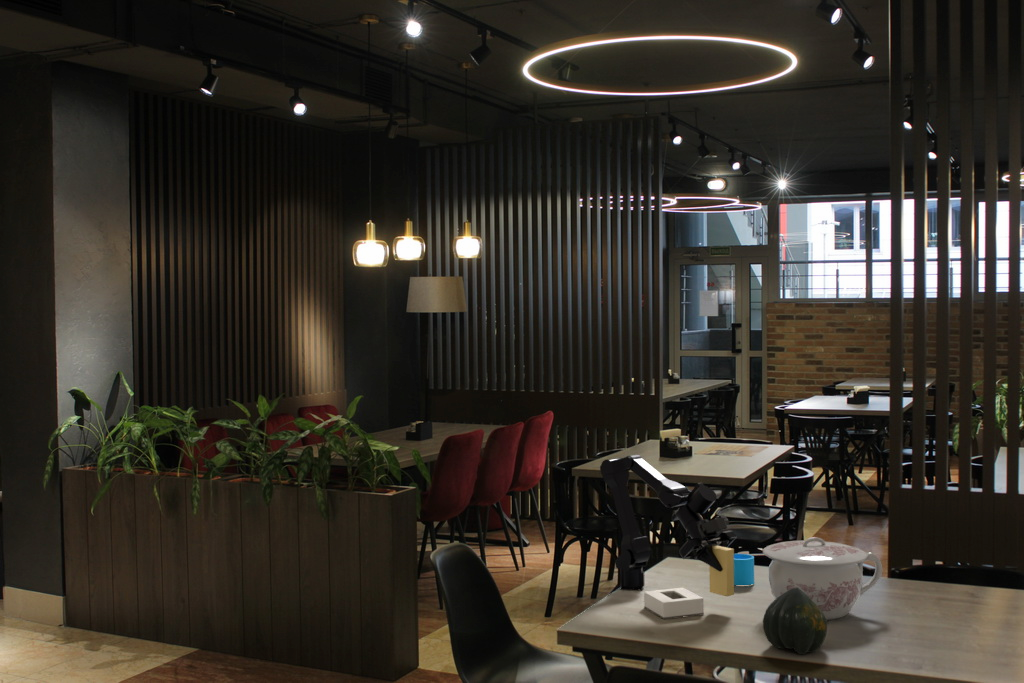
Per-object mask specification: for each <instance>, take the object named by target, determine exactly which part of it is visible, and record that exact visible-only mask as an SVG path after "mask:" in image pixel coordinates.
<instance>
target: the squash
mask: <svg viewBox="0 0 1024 683" xmlns="http://www.w3.org/2000/svg"><path fill="white" fill-rule="evenodd" d="M762 620H763V621H762V626H763V631H764V635H765V638H766V639H767V641H769V643H770V645H772V646H773V647H774V648H777V649H781V648H783V649H790V650H791V649H794V651H795V652H796V653H797V654H799V655H804V654H806V653H807V652H815V651H817V650H818V649H820V647H821V646H822V645H823V643H824V641H825V639H826V635H827V631H828V630H827V629H828V625H827V624H828V623H827V621H828V620H826V617H825V615H824V613H823V612H822V610H821V609H820V608H819V607H818V606H817V605H816V604H815V603H814V602H813V601H812V600H811V599H810V598H809V597H808V596H807V595H806V594H805V593H804V592H803V591H802V590H801V589H799V588H798V587H796V588H792V589H790V590H788V591H786V592H785V593H783V594H782V595H780V596H779V597H777V598H776V599H775V598H774V599H773V601H772V602H771V603H770V604H769V605H768V606H767V608H766V610H765V613H764V616H763V619H762Z"/></svg>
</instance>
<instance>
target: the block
mask: <svg viewBox="0 0 1024 683" xmlns="http://www.w3.org/2000/svg"><path fill="white" fill-rule="evenodd" d="M712 549H713V553H714V554H715V556H716V558H717V559H718V561H719V563H720V564H721V566H722V568H723V570H722V571H721V572H720V571H718V570H716V569H715V568H713V567H711V566H710V565H708V566H709V593H712V594H716V595H720V596H723V597H730V596H734V595H735V586H734V554H735V549H734V548H731V547H727V548H726V547H722V546H717V545H716V546H712Z"/></svg>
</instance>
